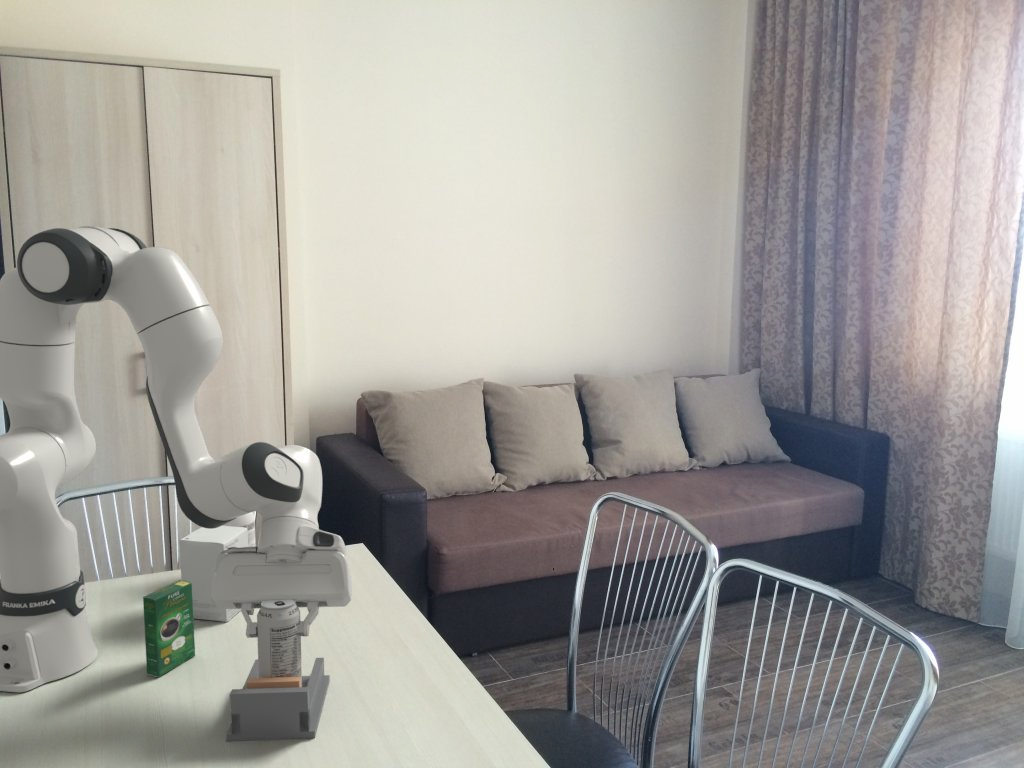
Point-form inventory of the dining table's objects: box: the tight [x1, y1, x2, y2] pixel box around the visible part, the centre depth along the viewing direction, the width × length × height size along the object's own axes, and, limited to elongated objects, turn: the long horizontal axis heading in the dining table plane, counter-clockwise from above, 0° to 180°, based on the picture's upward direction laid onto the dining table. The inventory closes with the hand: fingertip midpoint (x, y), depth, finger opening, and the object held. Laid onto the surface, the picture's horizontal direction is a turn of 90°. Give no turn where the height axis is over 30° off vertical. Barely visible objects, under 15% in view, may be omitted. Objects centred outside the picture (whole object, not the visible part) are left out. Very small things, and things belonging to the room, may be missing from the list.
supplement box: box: [179, 526, 248, 623], centre depth 154 cm, size 9×9×15 cm
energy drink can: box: [256, 599, 303, 687], centre depth 122 cm, size 6×6×15 cm
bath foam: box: [222, 511, 257, 547], centre depth 169 cm, size 7×7×20 cm
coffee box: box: [142, 579, 196, 678], centre depth 134 cm, size 8×3×13 cm, turn 156°
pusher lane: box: [225, 657, 331, 742], centre depth 123 cm, size 12×15×7 cm
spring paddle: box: [247, 677, 301, 689], centre depth 118 cm, size 7×1×6 cm, turn 94°
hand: (277, 635), depth 121 cm, fingers closed on energy drink can, 6 cm apart
